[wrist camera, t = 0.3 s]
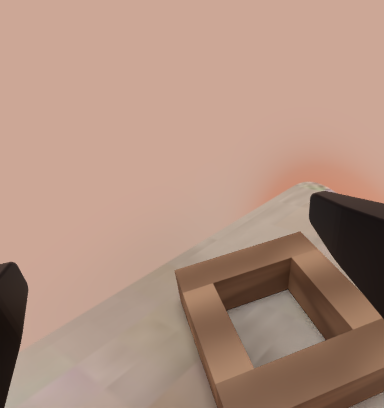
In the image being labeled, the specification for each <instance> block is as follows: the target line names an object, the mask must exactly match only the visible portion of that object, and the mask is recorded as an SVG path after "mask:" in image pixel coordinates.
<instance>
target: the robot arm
mask: <svg viewBox="0 0 384 408" xmlns="http://www.w3.org/2000/svg"><path fill="white" fill-rule="evenodd" d="M309 220H310V222H311V224H312V226H313V227H314V229H315V230H316V232H317V233H318V235H319V237H320V238H321V240H322V241H323V243H324V244H325V246H326V247H327V249H328V250H329V252H330V253H331V255H332V256H333V258H334V259H335V260H336V262H337V263H338V264H339V266H340V267H341V268H342V269H343V270H344V272H345V273H346V274H347V275H348V276H349V278H350V279H351V280H352V281H353V283H354V284H355V285H356V286H357V287H358V289H359V290H360V291H361V292H362V294H363V295H364V296H365V297H366V298H367V300H368V301H369V302H370V303H371V304H372V306H373V307H374V308H375V309H376V311H377V312H378V313H379V314H380V315H381V317H382V318H383V319H384V204H383V203H379V202H374V201H369V200H365V199H360V198H355V197H351V196H346V195H342V194H337V193H332V192H328V191H321V192H317V193H313V194H312V195H311V197H310V208H309ZM27 296H28V285H27V282H26V280H25V279H24V277H23V275H22V273H21V271H20V269H19V268H18V266H17V264H16V263H14V262H8V263H3V264H0V408H4V407H5V403H6V399H7V395H8V391H9V387H10V383H11V379H12V376H13V372H14V368H15V364H16V360H17V356H18V352H19V348H20V344H21V339H22V333H23V326H24V318H25V311H26V303H27Z"/></svg>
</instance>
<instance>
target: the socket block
mask: <svg viewBox="0 0 384 408" xmlns="http://www.w3.org/2000/svg"><path fill="white" fill-rule="evenodd" d="M175 275H176V280H177V284H178V289H179V294H180V299H181V302H182V305H183V308H184V311H185V314H186V317H187V320H188V323H189V326H190V329H191V332H192V335H193V338H194V341H195V343H196V346H197V349H198V352H199V355H200V358H201V361H202V364H203V367H204V370H205V373H206V376H207V379H208V381H209V384H210V387H211V390H212V393H213V396H214V399H215V402H216V405H217V408H348V407H350V406H352V405H355V404H357V403H359V402H361V401H363V400H366V399H368V398H370V397H372V396H375V395H377V394H379V393H381V392H383V391H384V319H383V318H382V317H381V315H380V314H379V313H378V312H377V311H376V309H375V308H374V307H373V306H372V304H371V303H370V302H369V301H368V300H367V298H366V297H365V296H364V295H363V294H362V293H361V292H360V291H359V290H358V289H357V288H356V287H355V286H354V285H353V284H352V283H351V282H350V281H349V280H348V279H347V278H346V277H345V276H344V275H343V274H342V273H341V272H340V271H339V270H338V269H337V268H336V267H335V266H334V265H333V264H332V263H331V262H330V261H329V260H328V259H327V258H326V257H325V256H324V255H323V254H322V253H321V252H320V251H319V250H318V249H317V248H316V247H315V246H314V245H313V244H312V243H311V242H310V241H309V240H308V239H307V238H306V237H305V236H304V235H303V234H302V233H301V232H297V233H294V234H290V235H287V236H284V237H281V238H278V239H274V240H271V241H268V242H265V243H262V244H258V245H255V246H252V247H249V248H245V249H242V250H239V251H236V252H233V253H229V254H226V255H223V256H220V257H216V258H213V259H210V260H207V261H204V262H200V263H197V264H194V265H191V266H187V267H184V268H181V269H178V270H175ZM286 289H288V290H289V291H290V292H291V294H292V295H293V296H294V298H295V299H296V300H297V302H298V303H299V304H300V306H301V307H302V308H303V310H304V311H305V312H306V314H307V315H308V316H309V318H310V319H311V320H312V322H313V323H314V324H315V326H316V327H317V328H318V330H319V331H320V332H321V334H322V335H323V337H324V338H325V339H326V341H323V342H321V343H318V344H315V345H313V346H310V347H308V348H305V349H303V350H300V351H298V352H295V353H293V354H290V355H288V356H285V357H283V358H280V359H278V360H275V361H273V362H270V363H267V364H265V365H262V366H260V367H257V368H255V369H254V367H253V365H252V363H251V361H250V359H249V357H248V355H247V353H246V351H245V349H244V346H243V344H242V342H241V340H240V338H239V336H238V334H237V332H236V330H235V328H234V326H233V324H232V322H231V320H230V317H229V315H228V313H227V311H226V310H229V309H232V308H234V307H237V306H240V305H243V304H246V303H249V302H252V301H255V300H257V299H260V298H263V297H266V296H269V295H272V294H275V293H277V292H280V291H283V290H286Z"/></svg>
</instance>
